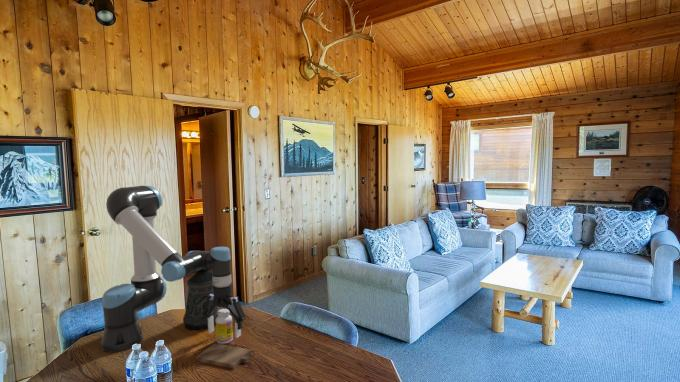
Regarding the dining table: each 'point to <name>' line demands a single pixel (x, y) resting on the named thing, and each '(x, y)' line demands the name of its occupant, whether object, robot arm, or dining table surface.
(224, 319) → the supplement bottle
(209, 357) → the walnut board
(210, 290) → the beer stein
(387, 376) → the dining table surface
